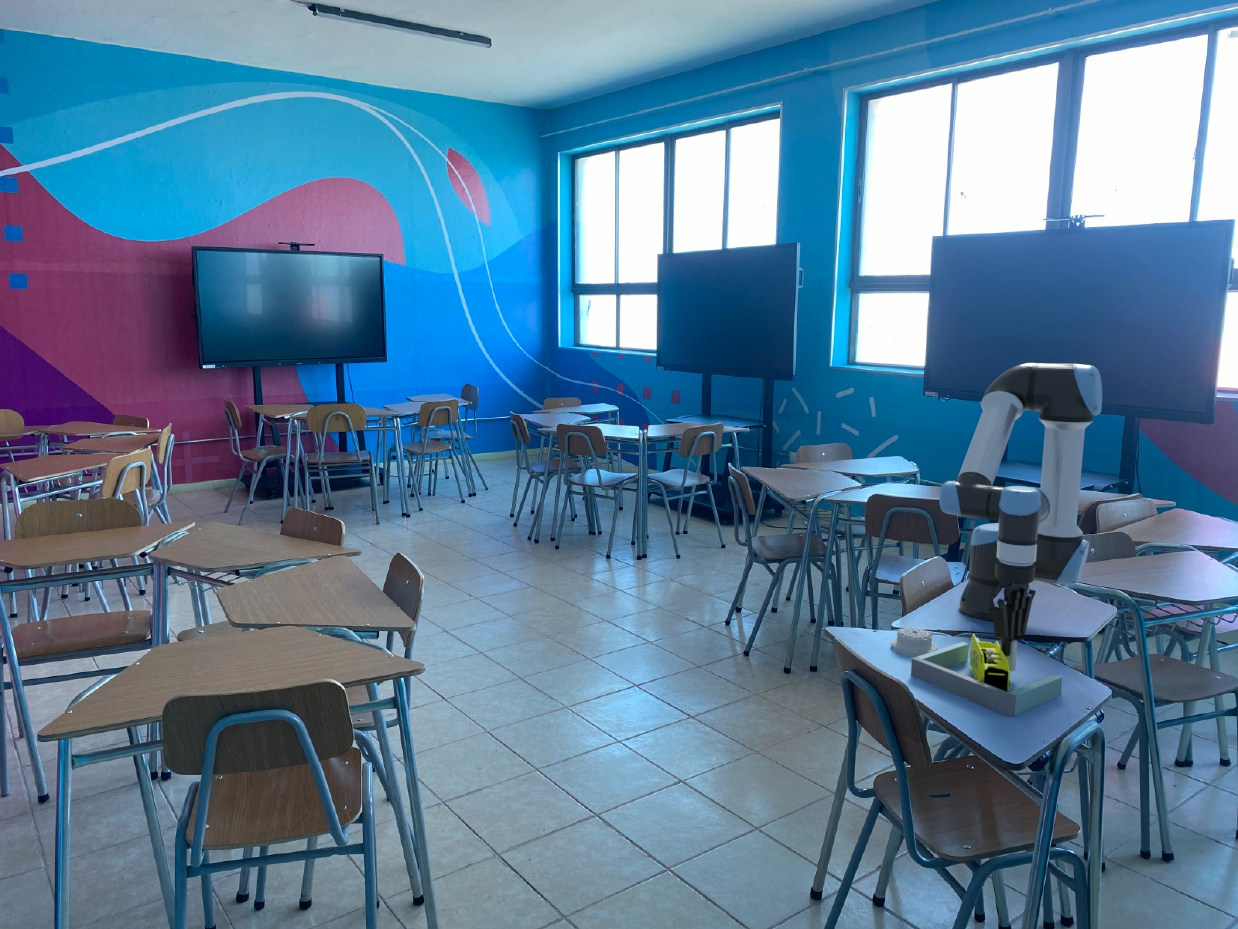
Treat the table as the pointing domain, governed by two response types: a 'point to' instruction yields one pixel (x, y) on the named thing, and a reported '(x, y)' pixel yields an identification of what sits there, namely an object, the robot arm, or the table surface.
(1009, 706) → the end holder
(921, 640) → the white cake
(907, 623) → the table surface
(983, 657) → the yellow toy chassis
